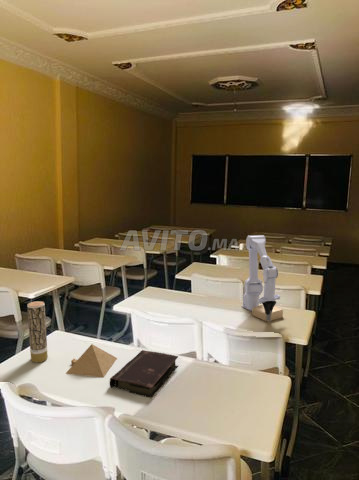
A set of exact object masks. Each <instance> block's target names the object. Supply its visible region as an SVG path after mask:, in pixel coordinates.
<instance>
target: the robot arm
mask: <svg viewBox="0 0 359 480" xmlns="http://www.w3.org/2000/svg"><path fill="white" fill-rule="evenodd" d="M266 242H267V240H266V236H265V235H263V234H261V235H247V236H246V239H245V245H246V246H245V247H246V248H245V249H246V250H248V273H249V274H248V278H247V279H245V280H244V287H243V288H244V290H243V291H244V293H243V296H242V305H241V307H242V308H244V309H246V310H248V311H250V312H252V309H253V307H257V306H260V305H263V306H264V309H265V314H267V315H269V312H270V310H271V313H272V310H273V307H274V306H275V307H276V305H277V301H276V300H281V295H279V294H275V293H276V279H277V278H278V276H279V270H278V268H277V267H276V266H275V265H274V264H273V261H272V259H271V257H270V256H269V255H268V253H267V250H266V244H267V243H266ZM258 255H259V257H260V259H259V260H258ZM258 261H259V262H260V264H261V267H262V275H263V281H264V282H263V281H262V280H261V279H260V278H259V273H258V271H259V270H258V267H259V266H258V264H259V263H258ZM262 293H263V296H262V297H260V296H261V294H262Z"/></svg>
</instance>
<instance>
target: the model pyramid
mask: <svg viewBox="0 0 359 480" xmlns="http://www.w3.org/2000/svg"><path fill="white" fill-rule="evenodd" d="M117 360H118V357H116V356H114V355H112V354H111V353H109V352H107V351H105V350H104V349H101V348H100V347H98V346H96V345H94V344H93V343H91V344H90V345H89V346H88V348H87V349H86V350H85V351H84V352H83V353H82V354H81V355H80V356H79V357H78V358H77V359H76V358H72V359H71V366H70V368H69V369H68V370H67V371H66V372H65V374H67V375H77V376H87V377H96V378H105V377H106V375H107V374H108V372H109V371H110V369H111V368H112V366H113V365H114V364H115V363H116V361H117Z"/></svg>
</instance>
